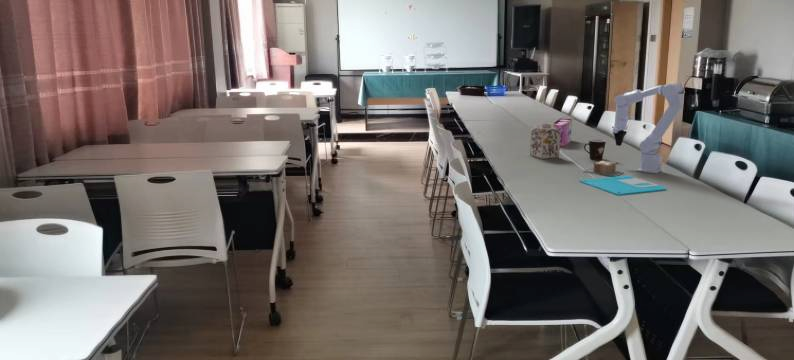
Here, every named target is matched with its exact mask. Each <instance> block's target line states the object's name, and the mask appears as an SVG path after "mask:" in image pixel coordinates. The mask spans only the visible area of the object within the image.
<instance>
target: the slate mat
mask: <svg viewBox="0 0 794 360" xmlns="http://www.w3.org/2000/svg"><path fill="white" fill-rule="evenodd" d="M593 171H594V167H590V168H587V169H584V170H583V171H582V172H583V173H589V174H593V175H594V174H595V175H601V176H602V175H603V176H606V177H607V176H609V177H618V176H621V175H622V174H623V175H624V171H617V170H615V171H613V172H611V173H609V174H605V173H598V172H593Z"/></svg>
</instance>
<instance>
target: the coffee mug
mask: <svg viewBox="0 0 794 360" xmlns="http://www.w3.org/2000/svg"><path fill="white" fill-rule="evenodd" d="M606 142H607V140H605V139H599V138H591V139H589V140H588V143H585V144H584V147H583V149H584V151H585V152H586V153H587V154H589V160H592V161H603V157H604V153H605V148H606V147H605V146H606V144H607V143H606ZM587 145H588V146H589V147H588V148H589V149H588V150H589V151H588V150H587V149H586V146H587Z"/></svg>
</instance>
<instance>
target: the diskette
mask: <svg viewBox="0 0 794 360" xmlns="http://www.w3.org/2000/svg"><path fill="white" fill-rule="evenodd" d="M578 183H582V184H584V185H587V186H590V187H593V188H595V189H598V190H600V191H604V192H607V193H609V194H612V195H615V196H626V195H635V194H644V193H654V192H662V191H666V190H667V187H666V186H663V185H660V184H656V183H653V182H652V181H651V182H650V181H648V180H644V179H640V178H637V177H634V176H631V175H622V176H621V175H618V176H616V177H614V176H609V177H607V176H606V177H599V178H598V177H597V178H588V179H579V182H578Z"/></svg>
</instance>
